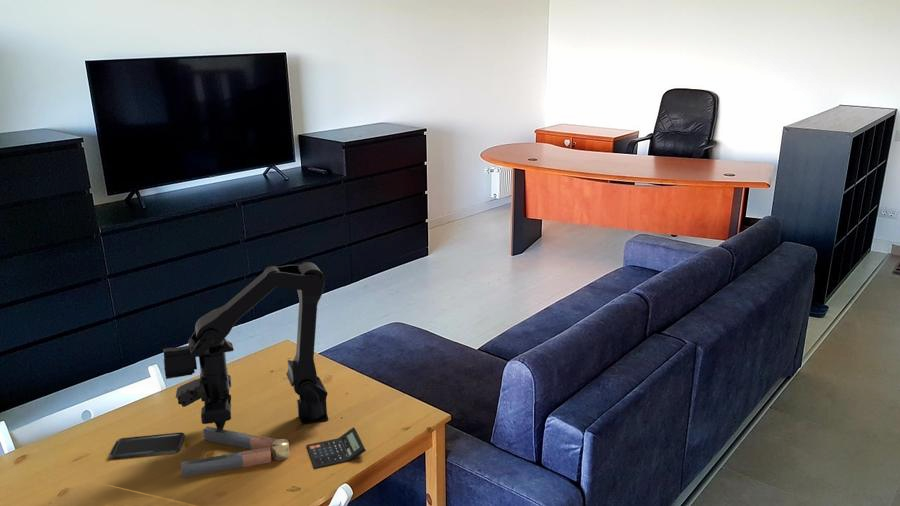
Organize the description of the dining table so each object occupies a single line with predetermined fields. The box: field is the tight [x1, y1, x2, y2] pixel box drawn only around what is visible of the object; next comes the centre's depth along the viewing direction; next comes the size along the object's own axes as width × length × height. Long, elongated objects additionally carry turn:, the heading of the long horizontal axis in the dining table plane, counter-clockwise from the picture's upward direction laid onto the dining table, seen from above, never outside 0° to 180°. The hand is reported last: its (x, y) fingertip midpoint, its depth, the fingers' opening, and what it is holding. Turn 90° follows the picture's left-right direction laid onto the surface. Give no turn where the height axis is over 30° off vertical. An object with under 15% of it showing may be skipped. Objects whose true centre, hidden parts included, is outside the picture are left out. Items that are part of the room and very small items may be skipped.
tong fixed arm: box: [180, 447, 272, 478], centre depth 146 cm, size 18×2×3 cm, turn 108°
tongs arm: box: [202, 425, 291, 461], centre depth 153 cm, size 22×4×3 cm, turn 73°
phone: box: [109, 432, 185, 460], centre depth 154 cm, size 8×1×15 cm
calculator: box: [306, 426, 367, 469], centre depth 152 cm, size 9×12×3 cm
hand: (220, 429), depth 158 cm, fingers closed
